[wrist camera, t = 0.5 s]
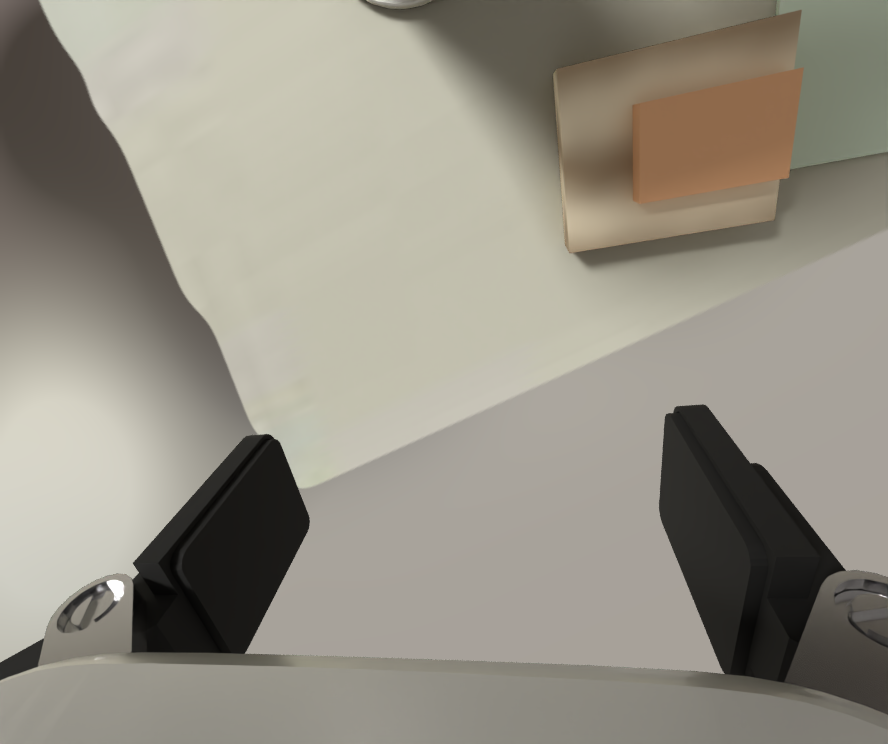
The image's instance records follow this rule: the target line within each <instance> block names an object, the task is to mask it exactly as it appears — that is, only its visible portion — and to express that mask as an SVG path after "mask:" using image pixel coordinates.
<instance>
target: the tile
mask: <svg viewBox="0 0 888 744" xmlns="http://www.w3.org/2000/svg"><path fill="white" fill-rule="evenodd" d="M803 70H804V67H803V68H798V69H794V70H789V71H785V72H780V73H775V74H771V75H766V76H762V77H757V78H753V79H748V80H743V81H739V82H734V83H730V84H725V85H721V86H716V87H711V88H707V89H702V90H698V91H693V92H689V93H684V94H680V95H675V96H670V97H666V98H661V99H657V100H652V101H648V102H643V103H639V104H635V105H633V201H634V202H636V203H638V204H643V203H649V202H654V201H660V200H665V199H671V198H677V197H682V196H688V195H694V194H699V193H705V192H711V191H716V190H722V189H728V188H733V187H739V186H745V185H750V184H756V183H761V182H767V181H773V180H778V179H784V178H789V172H790V164H791V157H792V150H793V143H794V135H795V128H796V121H797V114H798V106H799V99H800V92H801V84H802V77H803Z"/></svg>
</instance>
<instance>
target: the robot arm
mask: <svg viewBox="0 0 888 744" xmlns="http://www.w3.org/2000/svg"><path fill="white" fill-rule="evenodd" d="M366 1H368V2H370V3H371V4H374V5H378V6H382V7H385V8H389V9H408V8H413V7H417V6H422V5H425V4H427V3H429V2H431V1H433V0H366ZM659 511H660V517H661V520H662V523H663V526H664V528H665V531H666V533H667V535H668V538H669V541H670V543H671V546H672V548H673V551H674V553H675V555H676V558H677V560H678V563H679V565H680V568H681V570H682V572H683V575H684V578H685V580H686V582H687V585H688V587H689V590H690V592H691V595H692V597H693V600H694V602H695V605H696V607H697V610H698V612H699V614H700V617H701V620H702V622H703V624H704V627H705V629H706V632H707V634H708V637H709V639H710V642H711V644H712V646H713V649H714V652H715V654H716V656H717V659H718V661H719V664H720V666H721V668H722V670H723V672H724V673H725V674H718V673H708V672H698V671H682V670H664V669H647V668H629V667H611V666H592V665H564V664H539V663H513V662H487V661H461V660H460V661H459V660H432V659H402V658H370V657H338V656H306V655H305V656H304V655H269V654H245V652H246V651H247V649H248V647H249V645H250V643H251V641H252V639H253V637H254V635H255V633H256V631H257V629H258V627H259V625H260V623H261V621H262V619H263V617H264V615H265V613H266V611H267V610H268V608H269V606H270V604H271V602H272V600H273V598H274V596H275V594H276V592H277V590H278V588H279V586H280V584H281V582H282V580H283V578H284V576H285V575H286V572H287V571H288V569H289V567H290V565H291V563H292V561H293V559H294V557H295V555H296V553H297V551H298V549H299V547H300V545H301V543H302V541H303V539H304V537H305V535H306V533H307V532H308V529H309V523H310V520H309V515H308V512H307V510H306V507H305V505H304V502H303V500H302V497H301V495H300V493H299V490H298V487H297V485H296V482H295V480H294V477H293V474H292V472H291V469H290V467H289V464H288V462H287V459H286V457H285V454H284V452H283V449H282V447H281V444H280V442H279V441H278V440H276V439H274V438H273V437H272V436H271V435H269V434H264V435H251V436H246V437H245V438H244V439H243V440H242V441H241V442H240V443H239V444H238V445H237V446H236V448H235V449H234V450H233V451H232V452H231V453H230V454H229V455H228V457H227V458H226V459H225V460H224V461H223V462H222V463H221V464H220V466H219V467H218V468H217V469H216V470H215V471H214V472H213V473H212V475H211V476H210V477H209V478H208V479H207V480H206V481H205V482H204V484H203V485H202V486H201V487H200V488H199V489H198V490H197V492H196V493H195V494H194V495H193V496H192V497H191V498H190V499H189V501H188V502H187V503H186V504H185V505H184V506H183V507H182V508H181V510H180V511H179V512H178V513H177V514H176V515H175V516H174V517H173V519H172V520H171V521H170V522H169V523H168V524H167V525H166V526H165V527H164V529H163V530H162V531H161V532H160V533H159V534H158V535H157V537H156V538H155V539H154V540H153V541H152V542H151V543H150V544H149V546H148V547H147V548H146V549H145V550H144V551H143V552H142V554H141V555H140V556H139V557H138V558H137V559H136V560H135V562H133V564H134V566H135V567H136V569H137V570H138V572H139V574H138V575H137V576H136V577H135V578H134V579H132V578H131V577H129V576H128V575H126V574H113V575H108V576H105V577H103V578H100V579H97V580H95V581H93V582H91V583H90V584H88V585H86V586H84V587H82V588H81V589H80V590H78V591H77V592H76V593H74V594H73V595H72V596H70V597H69V598H68V599H67V600H66V601H65V602H64V603H63V604H62V605H61V606H60V607H59V608H58V609H57V611H56V612H55V613H54V614H53V616H52V617H51V619H50V621H49V623H48V626H47V629H46V633H45V637H44V639H42V640H40V641H38V642H36V643H35V644H33V645H31V646H29V647H28V648H26V649H24V650H22V651H20V652H18V653H17V654H15V655H13V656H11V657H9V658H8V659H6V660H4V661H2V662H1V663H0V744H888V577H886V576H883V575H880V574H877V573H872V572H865V571H858V570H851V571H846V570H845V569H844V568H843V566H842V565H841V564H840V563H839V561H838V560H837V559H836V558H835V556H834V555H833V554H832V553H831V551H830V550H829V549H828V547H827V546H826V545H825V544H824V542H823V541H822V540H821V539H820V537H819V536H818V535H817V534H816V532H815V531H814V530H813V528H812V527H811V526H810V525H809V523H808V522H807V521H806V520H805V518H804V517H803V516H802V514H801V513H800V512H799V511H798V509H797V508H796V507H795V506H794V504H793V503H792V502H791V501H790V499H789V498H788V497H787V495H786V494H785V493H784V492H783V490H782V489H781V488H780V486H779V485H778V484H777V483H776V482H775V480H774V479H773V478H772V476H771V475H770V474H769V473H768V471H767V470H766V469H765V468H764V467H763V466H762V465H760V464H757V463H753V464H752V463H751V464H750V463H749V461H748V460H747V459H746V457H745V456H744V455H743V453H742V452H741V451H740V449H739V448H738V447H737V445H736V444H735V443H734V441H733V440H732V439H731V437H730V436H729V435H728V433H727V432H726V431H725V429H724V428H723V427H722V425H721V424H720V423H719V421H718V420H717V419H716V418H715V416H714V415H713V413H712V412H711V411H710V410H709V408H708V407H707V406H706V405H691V406H677V407H675V409H674V413H669V414H666V416H665V424H664V439H663V455H662V470H661V485H660V500H659Z"/></svg>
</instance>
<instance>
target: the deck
mask: <svg viewBox="0 0 888 744" xmlns="http://www.w3.org/2000/svg"><path fill="white" fill-rule="evenodd" d="M801 13H802V10H798V11H794V12H789V13H785V14H781V15H777V16H773V17H769V18H765V19H760V20H756V21H752V22H748V23H744V24H740V25H736V26H731V27H727V28H723V29H719V30H715V31H711V32H707V33H703V34H698V35H694V36H690V37H686V38H682V39H678V40H674V41H669V42H665V43H661V44H657V45H653V46H649V47H645V48H640V49H636V50H632V51H628V52H624V53H620V54H616V55H611V56H607V57H603V58H599V59H595V60H591V61H587V62H583V63H578V64H574V65H570V66H566V67H562V68H558V69H557V70H556V71H555V72H554V74H553V83H554V97H555V111H556V125H557V139H558V153H559V167H560V181H561V195H562V209H563V223H564V237H565V246H566V247H567V249H568V251H569V253H574V252H580V251H586V250H593V249H599V248H605V247H611V246H617V245H624V244H630V243H636V242H642V241H648V240H655V239H661V238H667V237H673V236H679V235H686V234H692V233H698V232H704V231H710V230H717V229H723V228H729V227H735V226H741V225H748V224H754V223H760V222H766V221H772V220H775V213H776V205H777V197H778V190H779V182H780V179H778V180H773V181H767V182H761V183H756V184H750V185H745V186H739V187H733V188H728V189H722V190H716V191H711V192H705V193H699V194H694V195H688V196H682V197H677V198H671V199H665V200H660V201H654V202H649V203H643V204H638V203H636V202H634V201H633V105H635V104H639V103H643V102H648V101H652V100H657V99H661V98H666V97H670V96H675V95H680V94H684V93H689V92H693V91H698V90H702V89H707V88H711V87H716V86H721V85H725V84H730V83H734V82H739V81H743V80H748V79H753V78H757V77H762V76H766V75H771V74H775V73H780V72H785V71H789V70H794V66H795V59H796V51H797V43H798V36H799V28H800V20H801Z"/></svg>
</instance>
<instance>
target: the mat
mask: <svg viewBox="0 0 888 744" xmlns="http://www.w3.org/2000/svg"><path fill="white" fill-rule="evenodd" d="M798 10H802V13H801V20H800V28H799V36H798V43H797V51H796V59H795V66H794V69H798V68H803V67H804V70H803V77H802V84H801V92H800V99H799V106H798V114H797V121H796V128H795V135H794V143H793V150H792V157H791V164H790V169H795V168H801V167H807V166H812V165H818V164H823V163H829V162H834V161H840V160H845V159H851V158H856V157H862V156H868V155H873V154H879V153H884V152H888V0H777V5H776V15H775V16H777V15H781V14H785V13H789V12H794V11H798Z"/></svg>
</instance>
